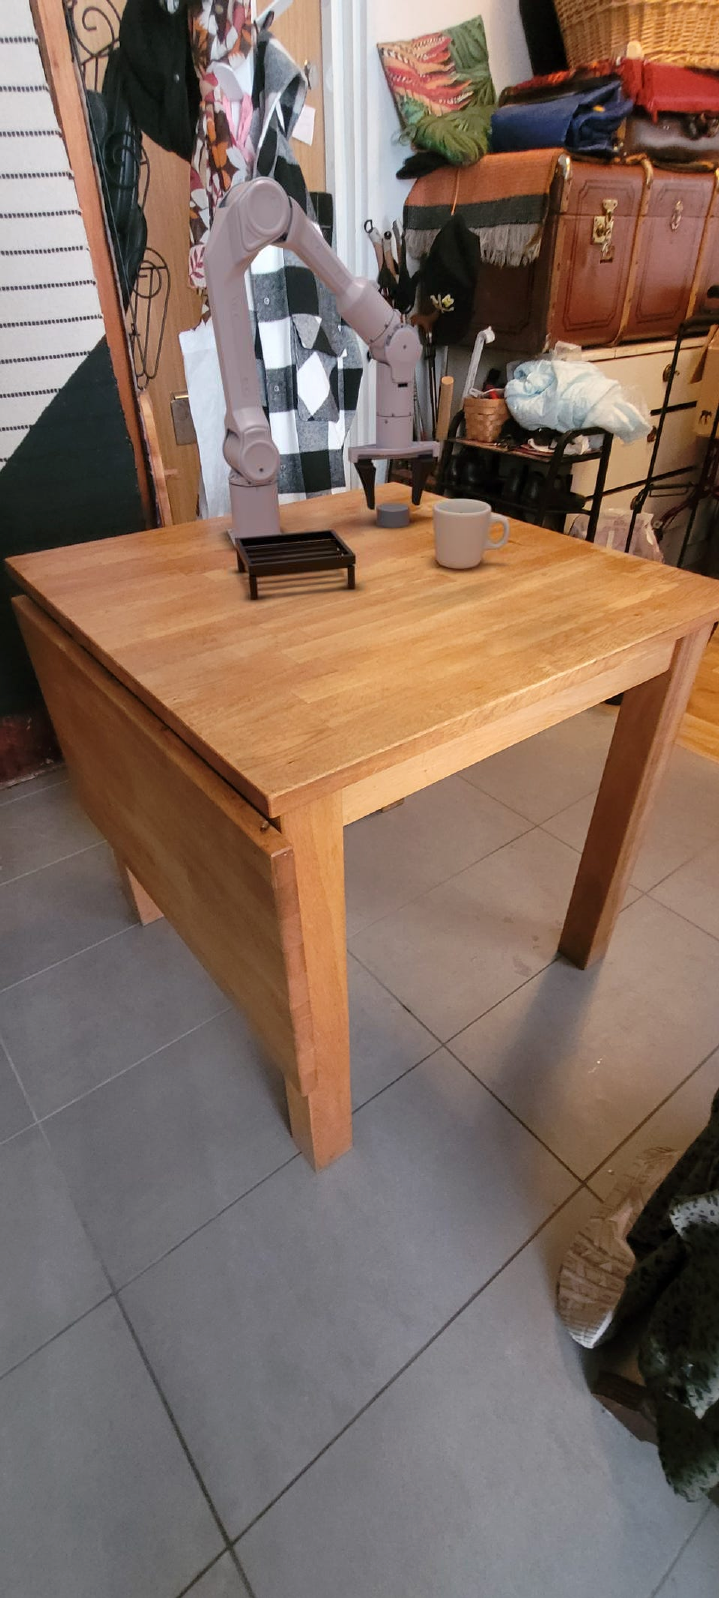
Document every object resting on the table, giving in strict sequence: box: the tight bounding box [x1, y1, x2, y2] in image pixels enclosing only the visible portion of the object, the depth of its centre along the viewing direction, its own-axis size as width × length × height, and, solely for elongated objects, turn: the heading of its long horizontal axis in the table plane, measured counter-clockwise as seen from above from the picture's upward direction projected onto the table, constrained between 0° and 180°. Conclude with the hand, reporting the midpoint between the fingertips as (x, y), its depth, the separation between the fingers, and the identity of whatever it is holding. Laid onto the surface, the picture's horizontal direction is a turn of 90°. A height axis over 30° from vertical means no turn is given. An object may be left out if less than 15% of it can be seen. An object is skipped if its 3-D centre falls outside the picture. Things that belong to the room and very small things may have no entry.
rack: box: [234, 529, 357, 601], centre depth 104 cm, size 12×14×4 cm
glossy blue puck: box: [375, 502, 411, 529], centre depth 126 cm, size 6×6×3 cm
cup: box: [432, 498, 511, 570], centre depth 107 cm, size 11×8×8 cm
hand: (393, 506), depth 125 cm, fingers open, 7 cm apart
